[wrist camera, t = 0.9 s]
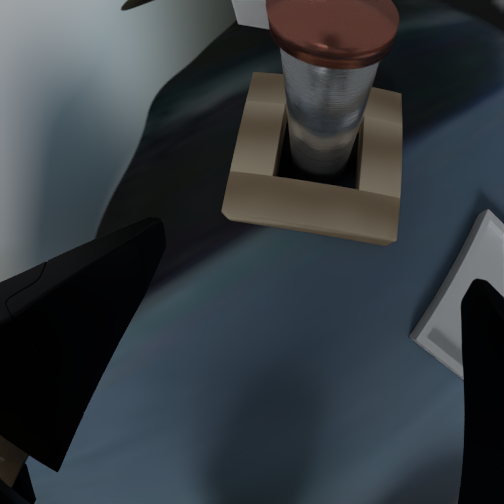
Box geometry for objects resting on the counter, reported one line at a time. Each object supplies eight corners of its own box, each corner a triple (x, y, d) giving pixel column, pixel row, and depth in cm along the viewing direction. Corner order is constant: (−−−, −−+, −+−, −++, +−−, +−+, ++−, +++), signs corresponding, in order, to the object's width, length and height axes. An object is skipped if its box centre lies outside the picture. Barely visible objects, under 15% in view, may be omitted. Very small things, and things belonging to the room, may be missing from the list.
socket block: (386, 246, 20) (396, 240, 18) (229, 220, 22) (221, 211, 20) (393, 110, 21) (401, 93, 19) (257, 90, 23) (253, 72, 21)
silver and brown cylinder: (328, 201, 21) (364, 68, 7) (274, 165, 22) (238, 14, 8) (361, 153, 21) (416, 6, 7) (310, 120, 22) (309, -38, 8)
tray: (493, 404, 17) (502, 409, 16) (408, 336, 19) (415, 340, 18) (551, 292, 17) (561, 291, 16) (478, 213, 19) (488, 208, 18)
